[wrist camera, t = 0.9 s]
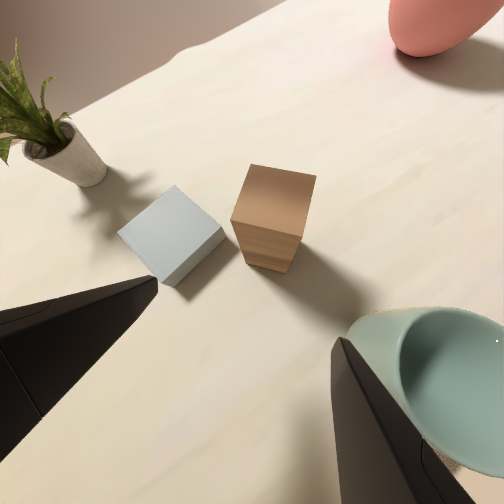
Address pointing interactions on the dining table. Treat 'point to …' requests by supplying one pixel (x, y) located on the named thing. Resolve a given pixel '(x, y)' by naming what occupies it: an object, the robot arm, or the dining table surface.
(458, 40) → the balloon
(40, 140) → the house plant
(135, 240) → the pedestal
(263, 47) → the dining table surface
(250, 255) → the wooden block
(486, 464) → the cup
